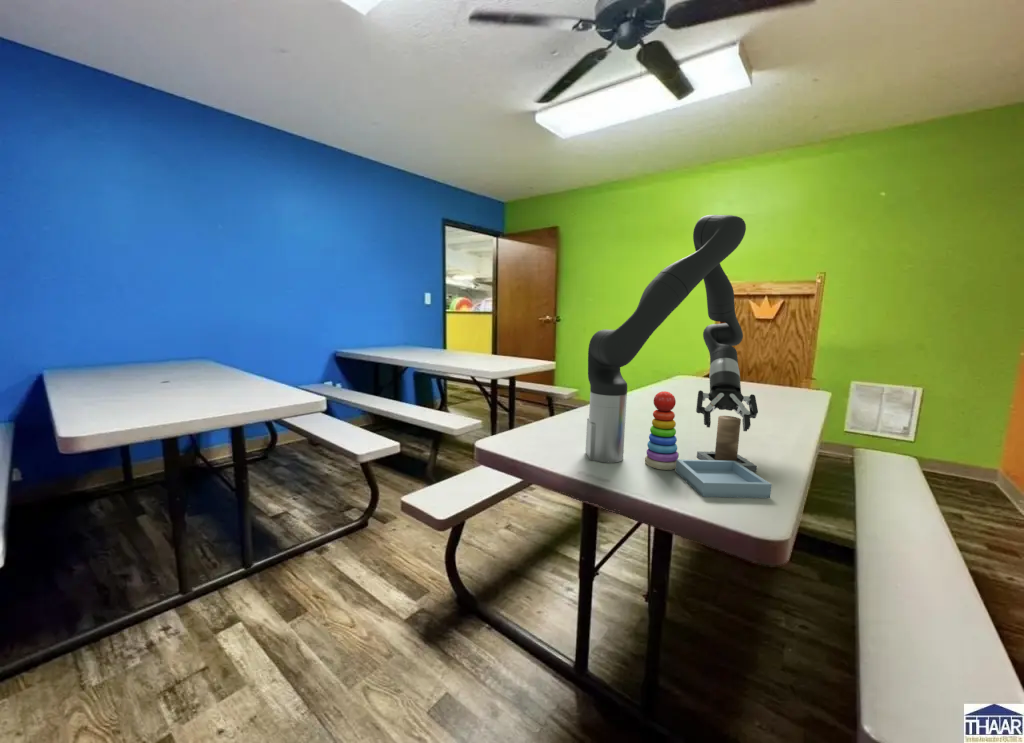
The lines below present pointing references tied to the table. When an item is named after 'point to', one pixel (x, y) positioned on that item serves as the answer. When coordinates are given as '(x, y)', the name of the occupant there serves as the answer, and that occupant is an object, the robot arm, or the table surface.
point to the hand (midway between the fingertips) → (726, 427)
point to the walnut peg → (727, 438)
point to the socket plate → (740, 460)
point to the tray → (722, 479)
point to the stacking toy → (663, 434)
